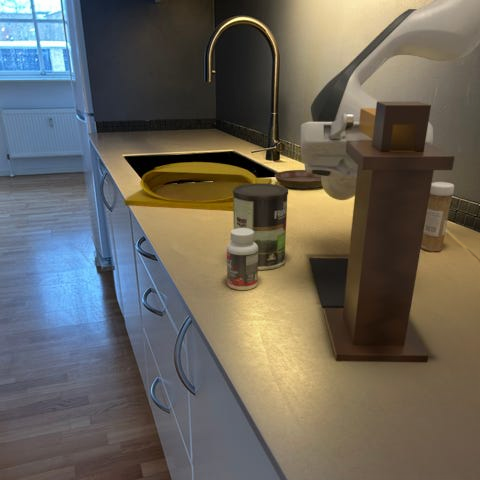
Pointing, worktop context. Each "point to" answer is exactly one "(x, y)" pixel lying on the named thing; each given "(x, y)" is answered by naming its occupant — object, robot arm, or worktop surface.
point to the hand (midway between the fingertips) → (375, 118)
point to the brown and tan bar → (396, 125)
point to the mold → (190, 172)
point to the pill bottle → (242, 260)
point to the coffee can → (263, 219)
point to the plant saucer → (298, 179)
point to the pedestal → (384, 254)
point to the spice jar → (437, 216)
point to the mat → (330, 280)
